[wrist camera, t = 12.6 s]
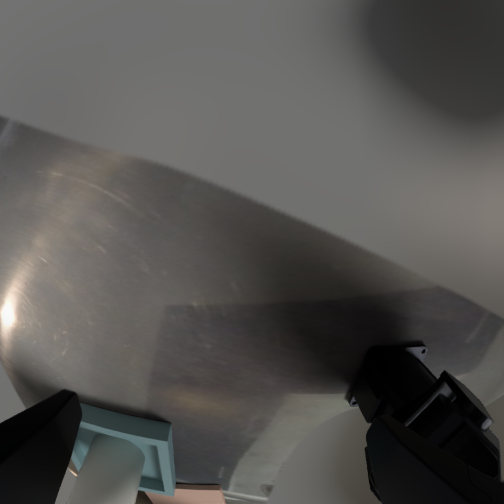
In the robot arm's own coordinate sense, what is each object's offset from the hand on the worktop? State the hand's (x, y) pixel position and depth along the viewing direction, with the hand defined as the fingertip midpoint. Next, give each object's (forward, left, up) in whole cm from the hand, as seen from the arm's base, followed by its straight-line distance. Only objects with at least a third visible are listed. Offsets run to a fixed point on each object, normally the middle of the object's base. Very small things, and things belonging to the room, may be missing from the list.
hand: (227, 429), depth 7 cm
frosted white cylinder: (+10, +21, -12) cm, 26 cm away
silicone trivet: (+3, +31, -13) cm, 34 cm away
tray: (+10, +21, -13) cm, 27 cm away
